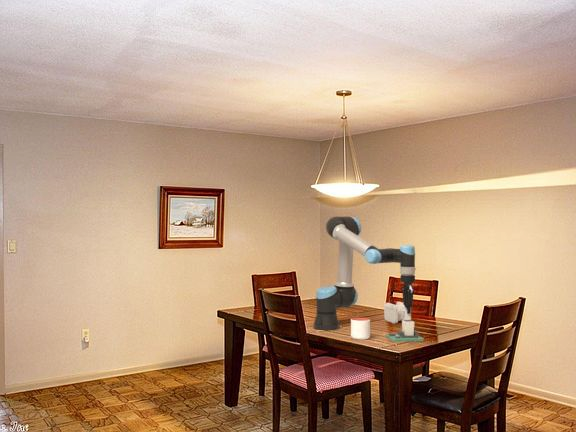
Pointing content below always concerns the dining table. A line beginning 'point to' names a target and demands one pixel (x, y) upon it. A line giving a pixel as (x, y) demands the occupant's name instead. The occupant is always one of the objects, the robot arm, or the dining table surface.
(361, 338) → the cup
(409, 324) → the plug
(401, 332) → the board
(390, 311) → the cable organizer
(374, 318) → the dining table surface
